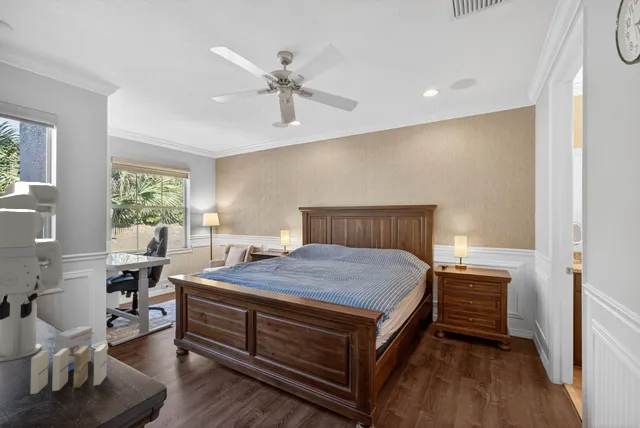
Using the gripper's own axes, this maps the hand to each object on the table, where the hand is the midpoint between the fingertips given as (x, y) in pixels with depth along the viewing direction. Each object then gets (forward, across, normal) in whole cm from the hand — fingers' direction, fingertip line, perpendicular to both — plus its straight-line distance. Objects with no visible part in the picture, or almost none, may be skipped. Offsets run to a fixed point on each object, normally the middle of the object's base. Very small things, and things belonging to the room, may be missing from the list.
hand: (15, 316), depth 84 cm
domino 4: (+21, +21, 0) cm, 30 cm away
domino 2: (+21, +11, 0) cm, 24 cm away
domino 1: (+21, +6, 0) cm, 22 cm away
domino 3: (+21, +16, 0) cm, 27 cm away
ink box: (+22, +9, +13) cm, 27 cm away
